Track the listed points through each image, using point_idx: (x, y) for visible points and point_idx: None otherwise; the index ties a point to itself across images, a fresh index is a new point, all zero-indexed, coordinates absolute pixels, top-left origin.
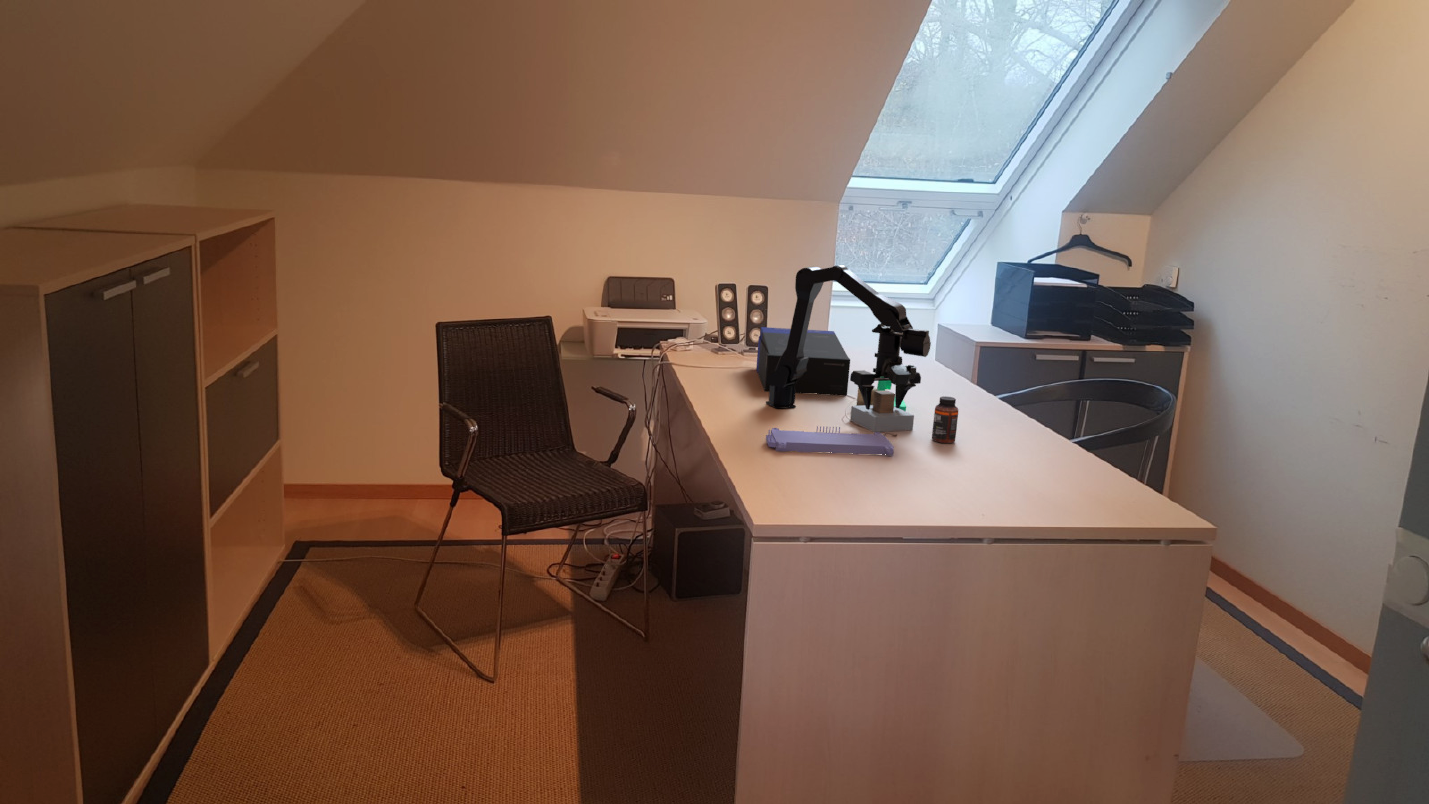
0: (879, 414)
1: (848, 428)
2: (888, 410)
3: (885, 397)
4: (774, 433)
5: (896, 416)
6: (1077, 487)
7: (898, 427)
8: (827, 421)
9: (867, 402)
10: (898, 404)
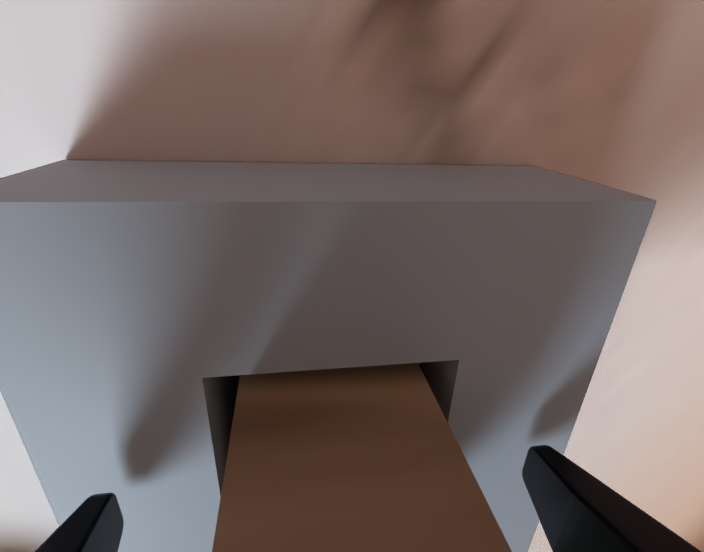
0: (496, 314)
1: (631, 299)
2: (314, 410)
3: None
4: None
5: (310, 197)
6: None
7: (259, 167)
8: (615, 448)
9: (648, 517)
10: (85, 545)
